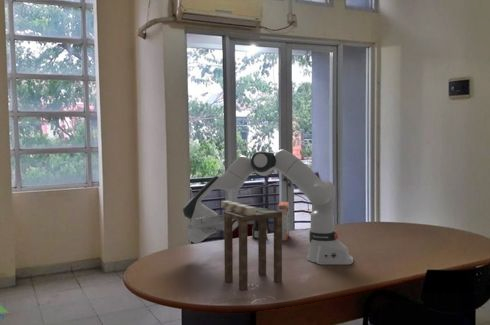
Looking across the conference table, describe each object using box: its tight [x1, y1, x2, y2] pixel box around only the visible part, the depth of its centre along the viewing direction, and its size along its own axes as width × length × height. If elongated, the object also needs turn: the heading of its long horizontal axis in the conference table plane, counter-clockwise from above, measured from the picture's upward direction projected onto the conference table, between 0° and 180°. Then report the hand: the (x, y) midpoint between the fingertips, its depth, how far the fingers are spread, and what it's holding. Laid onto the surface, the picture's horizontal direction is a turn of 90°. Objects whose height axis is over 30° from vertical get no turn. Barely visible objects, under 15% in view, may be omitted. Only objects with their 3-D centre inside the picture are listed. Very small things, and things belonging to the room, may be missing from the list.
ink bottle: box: [251, 220, 268, 240], centre depth 272 cm, size 10×9×12 cm
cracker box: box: [277, 201, 291, 242], centre depth 271 cm, size 14×6×21 cm, turn 168°
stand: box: [223, 206, 283, 292], centre depth 194 cm, size 14×20×30 cm
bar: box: [220, 199, 257, 216], centre depth 194 cm, size 22×4×3 cm, turn 33°
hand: (218, 215), depth 209 cm, fingers open, 8 cm apart
